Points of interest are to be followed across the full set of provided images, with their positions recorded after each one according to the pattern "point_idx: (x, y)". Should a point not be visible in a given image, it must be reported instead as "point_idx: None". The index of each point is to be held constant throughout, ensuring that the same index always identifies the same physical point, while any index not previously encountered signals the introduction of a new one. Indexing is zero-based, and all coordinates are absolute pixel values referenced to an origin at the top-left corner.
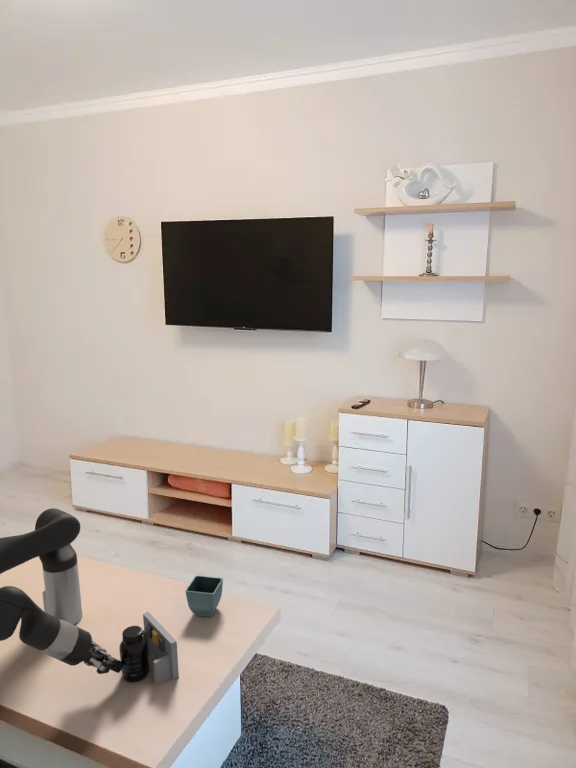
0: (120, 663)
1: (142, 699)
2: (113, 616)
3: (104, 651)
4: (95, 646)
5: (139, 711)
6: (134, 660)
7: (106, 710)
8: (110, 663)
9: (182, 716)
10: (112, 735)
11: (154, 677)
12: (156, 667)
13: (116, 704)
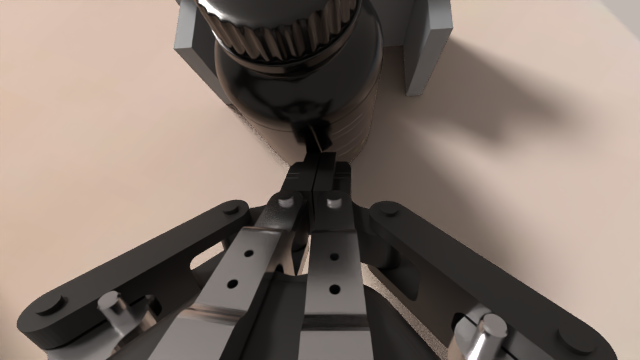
0: (334, 163)
1: (461, 159)
2: (2, 84)
3: (282, 233)
4: (238, 334)
5: (518, 192)
6: (373, 97)
7: None
8: (477, 256)
9: (633, 83)
10: None
11: (413, 82)
12: (444, 41)
13: None
